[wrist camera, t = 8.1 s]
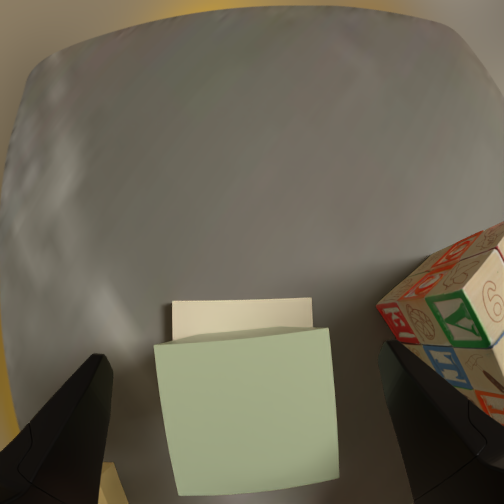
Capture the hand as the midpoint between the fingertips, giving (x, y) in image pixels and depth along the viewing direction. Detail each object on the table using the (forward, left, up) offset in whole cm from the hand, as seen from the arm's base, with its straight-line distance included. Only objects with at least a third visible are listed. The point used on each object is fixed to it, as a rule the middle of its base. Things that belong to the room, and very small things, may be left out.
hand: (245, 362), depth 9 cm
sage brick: (-1, 0, -8) cm, 8 cm away
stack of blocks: (-6, -16, -9) cm, 20 cm away
